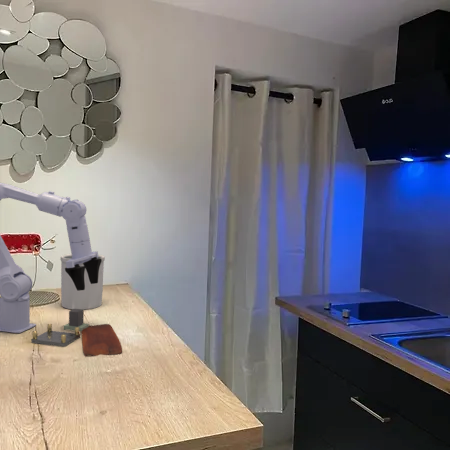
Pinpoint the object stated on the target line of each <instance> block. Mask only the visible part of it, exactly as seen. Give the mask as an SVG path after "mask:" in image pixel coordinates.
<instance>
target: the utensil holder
mask: <svg viewBox="0 0 450 450" xmlns="http://www.w3.org/2000/svg"><path fill="white" fill-rule="evenodd" d="M98 256H99V257H98V258H101V260H102V261H101V264H100V267H99V274H98V283H95V284H91V283H90V281H89V277H88V273H87V271H86V268H85V272H84V282H85V290H80V291H77V289H76V287H75V285H74V283H73V281H72V279H71V277H70V276H69V275H68V274H67V272H66V271H65V268H66V261H68V260H70V259H71V258H72V254H71V253H67V254H62V255H60V259H59V260H60V262H61V267H60V268H61V269H60V271H61V272H60V274H61V275H60V277H61V278H60V282H61V285H60V286H61V287H60V289H61V292H60V293H61V307H63V308H65V309H69V310H73V309H82V310H91V309H96V308H99V307H100V306H101V305H102V303H103V290H104V289H103V287H104V268H105V266H104V265H105V264H104V263H105V262H104V261H105V257H106V256H104V255H102V254H99V253H98ZM98 258H97V259H98ZM79 266H84V265H83V263H82V264H79Z"/></svg>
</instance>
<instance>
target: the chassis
mask: <svg viewBox="0 0 450 450" xmlns="http://www.w3.org/2000/svg"><path fill="white" fill-rule="evenodd" d="M46 325H47V326H46V327H47V328H46V331H45V332H42V333H40V334H39V335H38V330H33V331H32V338H31V339H30V340H31V342H30V343H32V344H36V345H37V344H39V345H46V346H52V347H54V346H55V347H61V348H66V347H67V346H68V345H70V344H71V343H74V342H75V341H77V340H79V339H80V338H81V333H80V331H79V327H75V331H74V332H65V331H57V330H53V324H52V323H47V324H46Z"/></svg>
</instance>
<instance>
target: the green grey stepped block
mask: <svg viewBox="0 0 450 450" xmlns="http://www.w3.org/2000/svg"><path fill="white" fill-rule="evenodd" d="M84 310H85V309H84ZM84 310H82V309H70V310H69V311H68V323H66V324H64V325H63V330H67V331H74V332H75V327H79V332H81V331H82V330H83V329H85V328H87V327H89V326H90V324H89V323H85V322H84V312H85V311H84Z"/></svg>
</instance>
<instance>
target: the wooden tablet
mask: <svg viewBox="0 0 450 450" xmlns="http://www.w3.org/2000/svg"><path fill="white" fill-rule="evenodd" d="M80 334H81V341H82V342H81V343H82V353H83V355H84V356H85V358H86V357H87V358H90V357H98V356H100V355H101V356H116V355H117V356H118V354H119V355H122V353H123V346H122V343H121V341H120V338H119V337H118V335H117V334H116V332H115V329H114V328H113V326H112V325H111V324H110V323H103V324H102V323H101V324H94V325H89V327H87V328H85V329H83V330H82V331H80Z"/></svg>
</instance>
